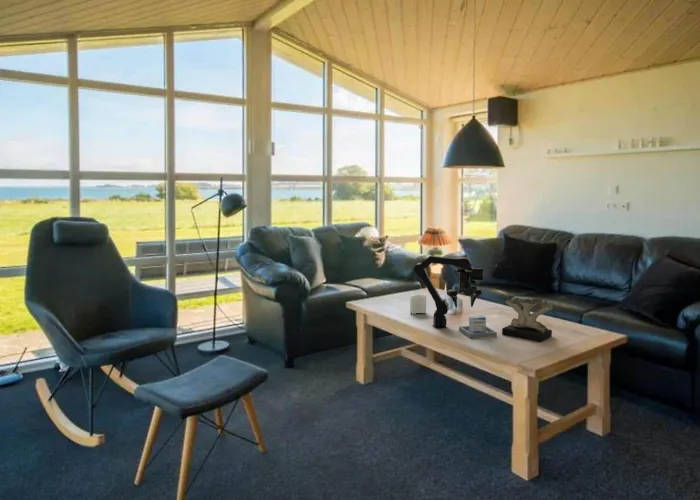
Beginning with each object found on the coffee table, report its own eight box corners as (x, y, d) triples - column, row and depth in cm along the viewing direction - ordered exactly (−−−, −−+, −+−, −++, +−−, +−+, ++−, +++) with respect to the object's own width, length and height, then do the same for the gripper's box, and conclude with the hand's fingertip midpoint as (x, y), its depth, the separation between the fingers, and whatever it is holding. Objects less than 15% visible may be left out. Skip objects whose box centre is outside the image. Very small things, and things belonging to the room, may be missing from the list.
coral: (558, 338, 268) (560, 298, 265) (541, 347, 254) (542, 304, 251) (514, 329, 286) (515, 291, 283) (495, 337, 271) (496, 297, 269)
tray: (470, 338, 269) (470, 334, 269) (458, 330, 284) (458, 326, 283) (496, 336, 272) (496, 332, 272) (484, 329, 287) (484, 324, 286)
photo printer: (425, 312, 326) (425, 293, 324) (426, 313, 321) (427, 294, 320) (409, 313, 324) (409, 293, 323) (410, 314, 320) (411, 295, 318)
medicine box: (472, 334, 275) (472, 318, 274) (468, 331, 279) (469, 316, 278) (485, 333, 277) (486, 317, 275) (481, 330, 281) (482, 315, 280)
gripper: (454, 283, 275) (453, 311, 277) (486, 281, 279) (486, 309, 281) (446, 279, 286) (446, 307, 288) (477, 278, 290) (477, 305, 292)
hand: (464, 307), depth 287 cm, fingers open, 9 cm apart
